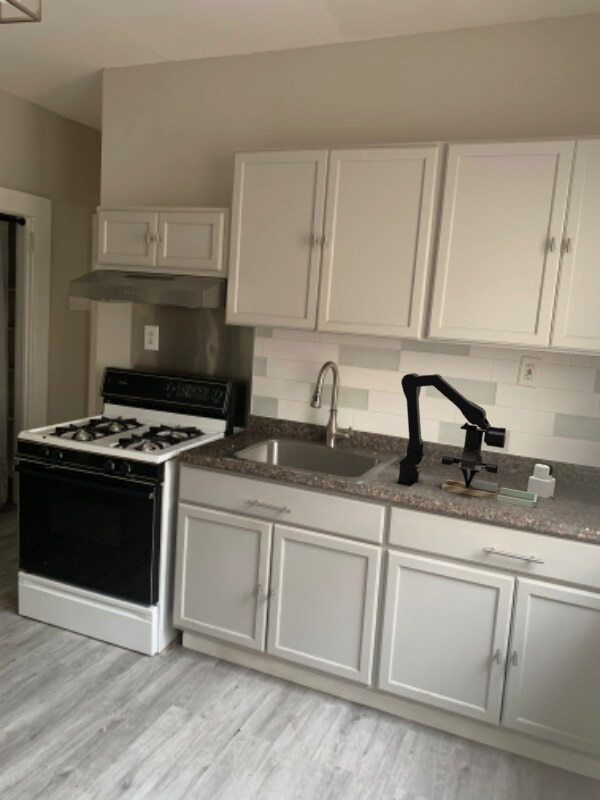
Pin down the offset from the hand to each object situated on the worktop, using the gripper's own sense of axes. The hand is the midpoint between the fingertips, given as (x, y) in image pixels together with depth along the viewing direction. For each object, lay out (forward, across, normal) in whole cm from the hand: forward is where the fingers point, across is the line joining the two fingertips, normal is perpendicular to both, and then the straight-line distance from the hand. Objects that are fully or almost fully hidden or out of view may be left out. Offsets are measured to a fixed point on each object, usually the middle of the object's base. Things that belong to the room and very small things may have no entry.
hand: (467, 487), depth 218 cm
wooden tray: (+2, +1, 0) cm, 3 cm away
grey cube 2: (+1, +4, 0) cm, 4 cm away
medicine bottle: (+2, +23, +14) cm, 27 cm away
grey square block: (+1, +8, 0) cm, 8 cm away
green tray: (+2, +17, 0) cm, 17 cm away
